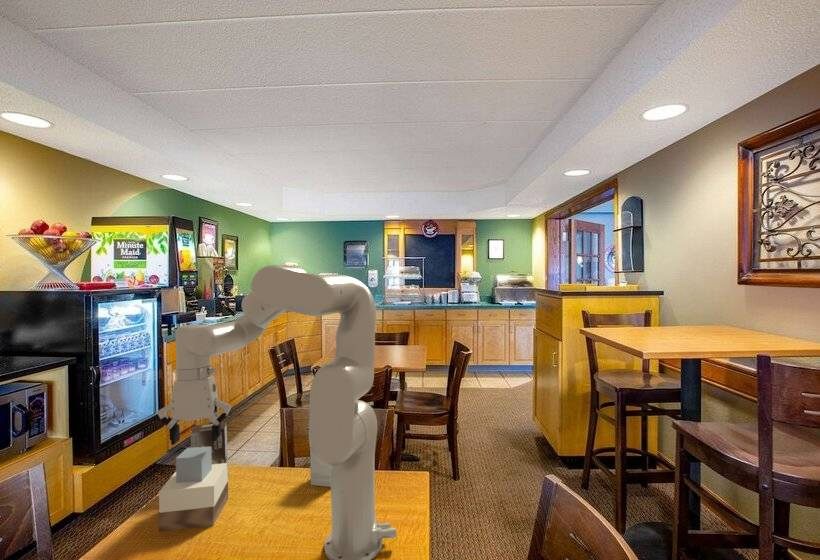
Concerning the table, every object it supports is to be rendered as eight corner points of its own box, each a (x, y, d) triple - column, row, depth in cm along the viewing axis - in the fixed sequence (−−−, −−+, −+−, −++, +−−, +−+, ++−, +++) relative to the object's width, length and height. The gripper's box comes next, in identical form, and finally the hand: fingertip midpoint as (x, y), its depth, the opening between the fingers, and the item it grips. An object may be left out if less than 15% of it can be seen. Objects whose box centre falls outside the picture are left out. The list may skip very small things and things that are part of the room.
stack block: (211, 469, 103) (211, 446, 103) (201, 481, 97) (201, 456, 97) (187, 470, 102) (187, 447, 102) (176, 482, 97) (175, 458, 96)
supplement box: (334, 487, 111) (333, 443, 111) (309, 485, 113) (309, 441, 113) (343, 474, 118) (343, 433, 118) (320, 472, 120) (320, 431, 120)
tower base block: (228, 499, 107) (228, 481, 107) (213, 527, 95) (212, 507, 95) (180, 504, 105) (180, 485, 105) (159, 533, 93) (158, 512, 93)
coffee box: (229, 473, 120) (228, 420, 120) (226, 483, 114) (225, 428, 114) (195, 478, 117) (194, 424, 117) (191, 489, 111) (190, 432, 111)
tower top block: (227, 481, 107) (227, 463, 107) (214, 506, 95) (213, 485, 95) (179, 486, 104) (178, 467, 104) (159, 512, 93) (159, 491, 93)
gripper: (234, 368, 105) (236, 432, 105) (164, 372, 103) (166, 437, 103) (224, 375, 97) (226, 444, 98) (149, 379, 95) (151, 450, 95)
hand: (195, 440), depth 100 cm, fingers open, 9 cm apart
